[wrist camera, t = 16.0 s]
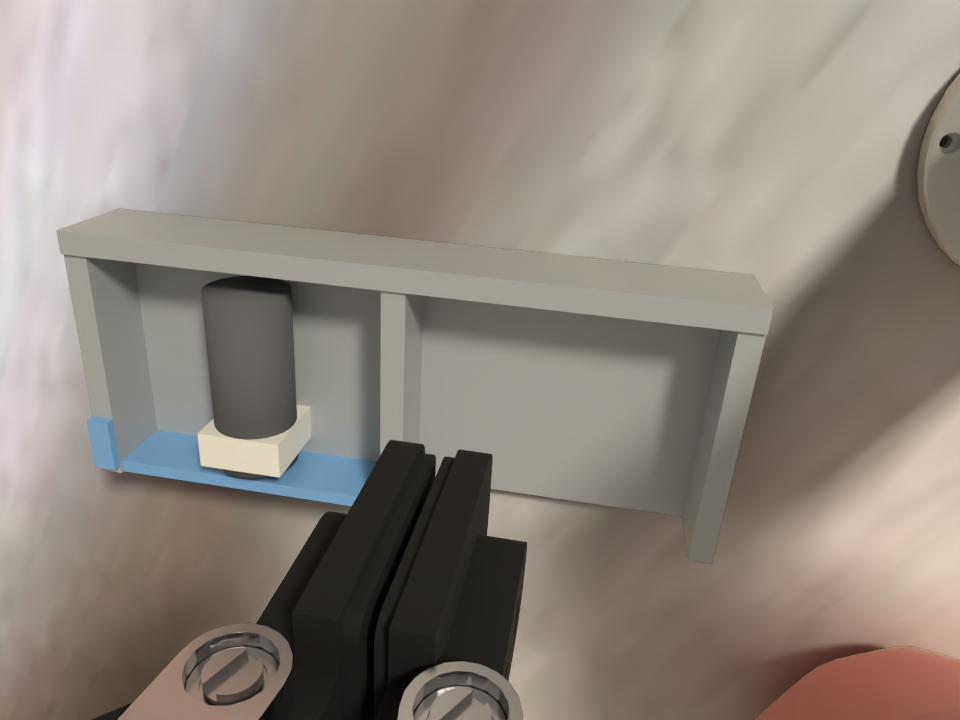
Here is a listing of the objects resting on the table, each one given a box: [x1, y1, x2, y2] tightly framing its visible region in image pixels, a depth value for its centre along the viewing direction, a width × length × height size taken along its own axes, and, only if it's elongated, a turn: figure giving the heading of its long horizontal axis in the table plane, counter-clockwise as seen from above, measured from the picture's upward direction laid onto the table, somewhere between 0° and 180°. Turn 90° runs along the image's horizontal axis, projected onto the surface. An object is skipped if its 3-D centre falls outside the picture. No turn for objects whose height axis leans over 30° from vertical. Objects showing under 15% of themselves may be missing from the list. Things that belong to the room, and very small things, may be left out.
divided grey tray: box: [56, 209, 774, 564], centre depth 39 cm, size 34×14×5 cm, turn 86°
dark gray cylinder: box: [197, 276, 311, 478], centre depth 40 cm, size 10×4×4 cm, turn 176°
